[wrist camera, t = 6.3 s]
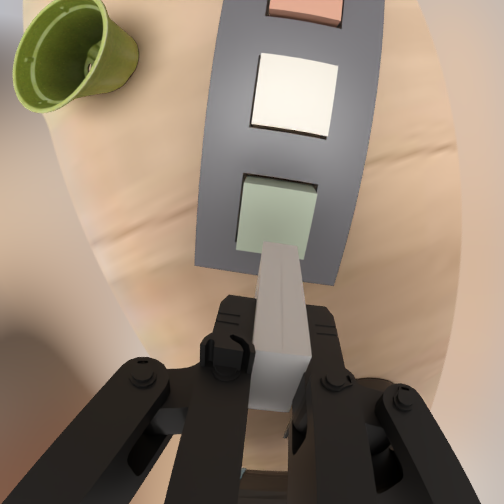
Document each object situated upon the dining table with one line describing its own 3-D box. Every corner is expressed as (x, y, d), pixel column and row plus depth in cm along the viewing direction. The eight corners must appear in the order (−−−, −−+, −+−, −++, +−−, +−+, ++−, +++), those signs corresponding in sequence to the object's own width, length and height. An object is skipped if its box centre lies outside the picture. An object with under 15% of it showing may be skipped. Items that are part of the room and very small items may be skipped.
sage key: (300, 244, 24) (303, 259, 21) (240, 235, 24) (235, 249, 21) (312, 185, 22) (317, 194, 19) (247, 175, 22) (243, 182, 19)
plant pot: (154, 5, 17) (107, -29, 9) (161, 94, 21) (110, 86, 13) (72, 39, 18) (14, 27, 10) (77, 121, 22) (15, 130, 14)
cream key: (321, 134, 20) (328, 136, 17) (254, 123, 20) (251, 123, 17) (330, 72, 18) (338, 66, 15) (263, 61, 18) (261, 52, 15)
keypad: (328, 269, 27) (333, 285, 24) (202, 250, 27) (194, 265, 24) (374, -22, 14) (384, -35, 12) (240, -44, 15) (236, -60, 12)
